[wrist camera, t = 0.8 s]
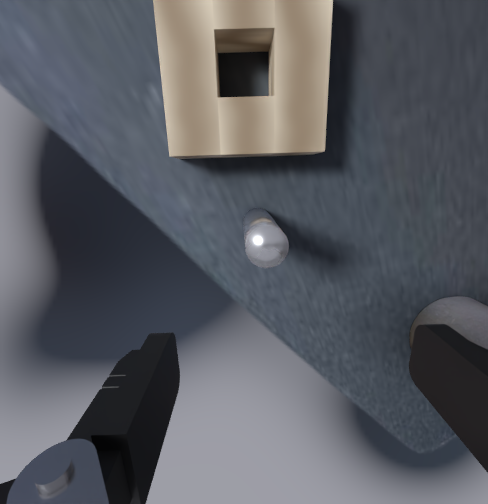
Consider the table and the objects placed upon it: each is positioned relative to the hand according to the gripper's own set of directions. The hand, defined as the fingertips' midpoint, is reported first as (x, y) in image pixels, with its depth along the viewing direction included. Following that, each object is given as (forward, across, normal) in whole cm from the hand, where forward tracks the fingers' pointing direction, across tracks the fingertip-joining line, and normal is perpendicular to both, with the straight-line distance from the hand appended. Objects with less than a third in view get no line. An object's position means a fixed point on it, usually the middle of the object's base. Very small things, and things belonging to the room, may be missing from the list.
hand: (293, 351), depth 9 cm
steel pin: (+20, 0, -1) cm, 20 cm away
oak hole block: (+20, +1, -14) cm, 24 cm away
